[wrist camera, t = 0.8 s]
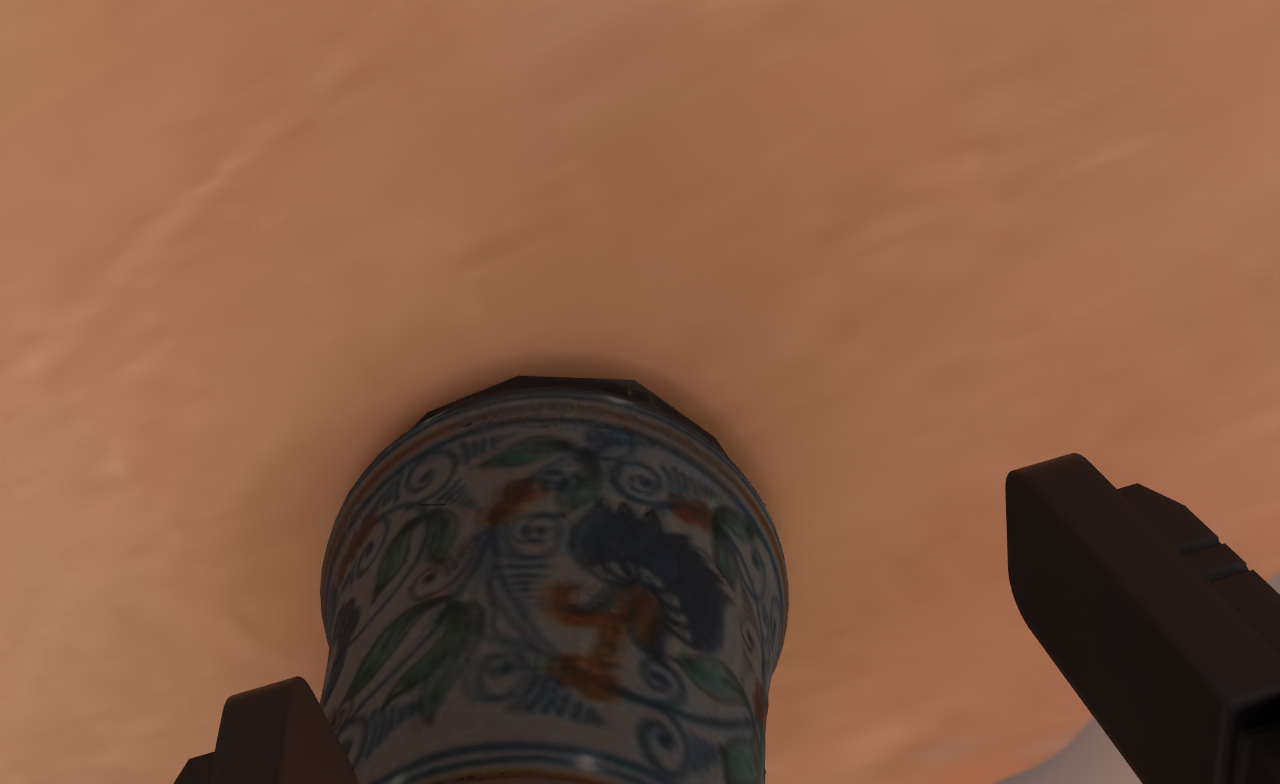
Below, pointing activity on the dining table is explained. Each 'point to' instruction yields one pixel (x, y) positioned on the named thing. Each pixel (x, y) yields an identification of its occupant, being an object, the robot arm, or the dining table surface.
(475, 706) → the beer stein
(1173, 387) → the dining table surface
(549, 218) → the dining table surface
